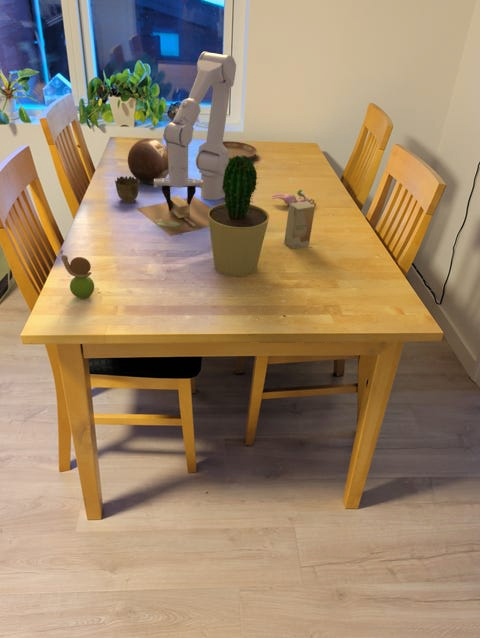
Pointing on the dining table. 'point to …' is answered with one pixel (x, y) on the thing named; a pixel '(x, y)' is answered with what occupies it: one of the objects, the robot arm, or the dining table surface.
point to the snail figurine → (79, 276)
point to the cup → (127, 188)
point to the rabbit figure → (293, 198)
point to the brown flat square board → (175, 224)
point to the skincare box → (299, 224)
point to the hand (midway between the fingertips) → (178, 209)
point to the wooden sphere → (148, 160)
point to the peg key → (180, 208)
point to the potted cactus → (237, 221)
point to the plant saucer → (239, 149)
